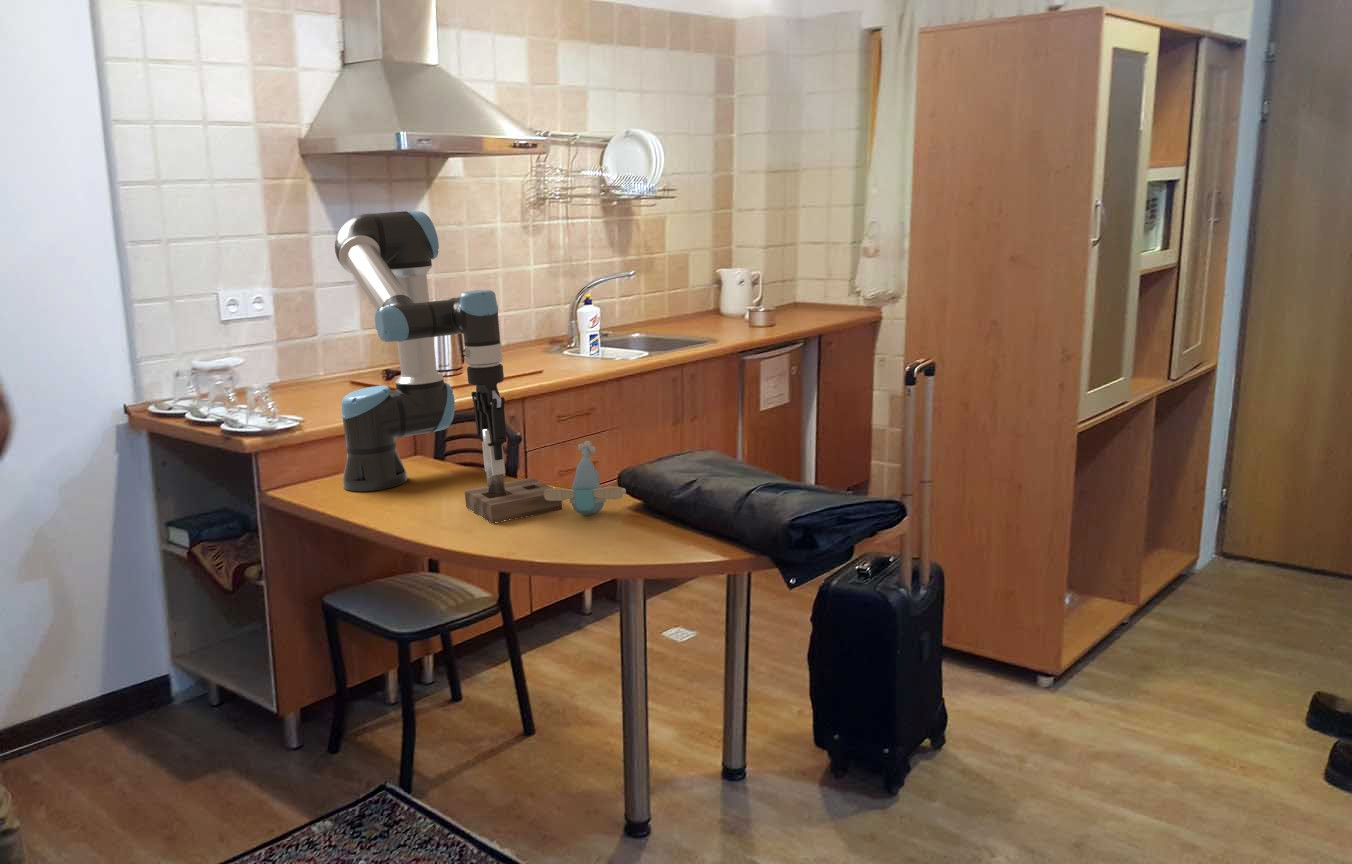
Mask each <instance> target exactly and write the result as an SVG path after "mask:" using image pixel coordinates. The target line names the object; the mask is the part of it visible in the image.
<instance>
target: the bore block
mask: <svg viewBox="0 0 1352 864" xmlns="http://www.w3.org/2000/svg"><path fill="white" fill-rule="evenodd" d="M504 484H505V492H504V493H501V494H489V493H488V485H486V486H481V487H475V488H469V489H465V490H464V498H465V508H466V507H467V508H468V509H467V508H466V509H467V510H469V509H470V510H469V511H471V510H472V511H474V512H475V513H477V514H478V515H477V514H476V515H477V516H479V515H480V516H482V517H483V518H482V517H481V518H482V519H484V518H485V519H486V521H487V520H488V521H487V522H489V521H490V522H491V523H490V522H489V523H490V524H492V523H494V524H496V523H495V522H499V523H502V522H501V521H504V520H509V519H514V520H516V519H515V518H519V519H522V518H521V517H524V518H527V517H526V516H528V517H532V516H531V515H533V516H537V515H542V514H546V513H547V514H548V513H553V512H558V511H562V510H563V500H562V501H548V500H546V499H545V498H544V491H545V490H546V489H551V488H553V486H550V485H549V484H547V483H544V482H542V481H539V480H538V479H536V478H534V477H529V478H523V479H517V480H512V481H507V482H504ZM472 511H471V512H472ZM474 512H473V513H474ZM475 513H474V514H475ZM480 516H479V517H480ZM485 519H484V520H485ZM509 521H510V520H509ZM504 522H505V521H504Z"/></svg>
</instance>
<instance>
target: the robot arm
mask: <svg viewBox="0 0 1352 864" xmlns="http://www.w3.org/2000/svg"><path fill="white" fill-rule="evenodd" d="M439 243H440V242H439V239H438V234H437V231H436V227H435V225H434V223H433V221H432V220H431V218H430V217H429V215H428V214H426V213H425V212H423V211H419V210H405V211H403V210H402V211H393V212H392V211H390V212H376V213H375V212H374V213H371V212H368V213H362V214H357V215H356V216H353V217H352V218H350V219H348V220H347V221H346V222H345V223H344V224H342V226H341V228H340V229H339V230H338V232H337V234H336V237H335V241H334V251H335V256H336V260H338V262H339V264H340V265H341V267H342V268H343V269H344V270H345V271H346V272H348V273H351V275H353V276H354V278H355V280H356V282H358V283H357V284H359V286H360V288H361V289H362V290H363V292H364V294H365V295H366V297H367V298H368V300H369V301H370V303H371V304H372V305H373V307H374V309H375V310H376V311H375V315H374V321H375V322H374V325H375V329H376V331H377V335H378V338H379V339H380V341H383V342H386V343H389V342H390V343H392V342H397V348H398V357H399V367H400V376H399V377H398V378H397V379H396V380H395V388H396V389H394V390H391V389H390V387H389V386H387V385H376V386H370V387H369V386H368V387H365V388H361V389H357V390H354V391H352V392H349V393H348V394H345V396H343V398H342V400H341V419H342V423H343V431H344V440H345V446H346V462H345V467H344V471H343V476H342V485H343V489H344V490H346V491H352V492H371V491H374V492H375V491H380V490H385V489H386V490H387V489H391V488H395V487H399V486H401V485H404V484H405V483H406V482H407V481H408V475H407V473H408V472H407V469H406V468H405V465H404V463H403V461H402V459H401V457H400V455H399V453H398V450H397V443H396V439H398V438H404V437H410V436H415V435H422V434H428V433H429V434H433V433H435V432H438V431H444V430H446V429H447V428H449V427H450V426H451V425H452V422H453V420H454V418H455V417H454V416H455V408H456V407H455V406H456V405H455V404H456V403H455V395H454V393H453V392H454V391H453V388H452V386H451V385H450V384H449V383H447V382H445V378H444V376H443V375H441V374H440V373H439V371H437V362H436V354H435V353H436V352H435V343H434V337H435V338H436V337H444V336H451V335H453V336H455V335H463V343H464V344H463V345H464V349H465V350H464V351H462V353H463V356H465V359H466V360H465V361H466V362H465V363H466V364H467V365H469V366H467V368H466V373H467V374H466V375H467V382H468V384H469V385H471V386H475V391H472V392H471V397H472V398H471V399H472V402H473V409H474V417H475V418H474V419H475V425H476V426H475V427H476V435H477V437H478V438H480V441H481V445H482V455H483V465H484V466H483V467H484V472H485V473H486V464H485V454H484V443H483V433H482V429H484V428H488V429H489V435H490V441H491V443H488V446H489V449H490V459H491V469H492V475H493V476H494V475H499V474H506V466H505V456H504V455H505V454H504V448H503V447H504V443H507V429H506V416H505V415H506V413H505V403H506V399H505V397H504V396H502V397H501V396H500V392H499V389H498V384H499V383H503V381H504V380H505V376H504V375H505V374H504V365H503V364H501V362H502V361H503V350H502V343H501V334H500V333H501V332H500V320H499V312H498V311H499V306H498V302H497V296H496V293H495V292H494V291H493V290H490V289H486V290H485V289H479V290H478V289H477V290H468V291H463V292H461V294H460V296H459V297H458V296H457V297H451V298H448V299H444V300H435V301H430V297H429V286H428V277H427V274H428V272H429V271H430V270H431V269H432V267H433V263H432V262H433V261H432V260H435V259H436V258H437V257H438V256H439V253H440V252H439V251H440V250H439V249H440V246H439Z"/></svg>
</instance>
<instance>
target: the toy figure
mask: <svg viewBox="0 0 1352 864" xmlns="http://www.w3.org/2000/svg"><path fill="white" fill-rule="evenodd" d="M596 449H597V448H596V447H595V446H594V445H592V442H591V441H589V440H586V441H584V443H580V444H579V443H578V446H577V450H578V451H579V452H581V455H582V457H581V459H580V461H579V462H578V464H577V466H576V468H575V476H574V478H573V483H572V486H571V489H568V488H564V487H552V488H551V489H546V490H545V491H544V498H545V499H546V500H548V501H562V502H563V501H566V500H569V504H571V506H572V508H573V510H574V511H575V512H576V513H578V514H580V515H585V516H588V515H595V514H597V513H598V512H599V511H601V510H602V509H603V507H604V504H605V502H607V500H609V501H610V500H618V499H619V500H620V499H622V498H623V497H624V495H625V494H626V493H627V490H626V488H624V487H621V486H616V485H615V486H611V485H608V486H604V487H602V486H601V484H600V482H599V479H600V473H599V472H598V471H597V470H596V468H595V465H594V463H593V462H592V460H591V459H590V458H589V457H590V456H592V455H593V454H595V453H596V451H597V450H596Z"/></svg>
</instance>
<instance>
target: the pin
mask: <svg viewBox="0 0 1352 864" xmlns="http://www.w3.org/2000/svg"><path fill="white" fill-rule="evenodd" d="M482 433H483V441H482V442H483V443H484V454H485V464H486V472H485V473H486V483H487V486H488V493H489V494H501V493H504V492H505V484H504V483H505V477H504V476H505V475H504V474H499V475H494V476H493V475H492V469H491V459H490V449H489V446H488V443H491V441H490V435H489V429H488V428H484V429H482Z"/></svg>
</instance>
